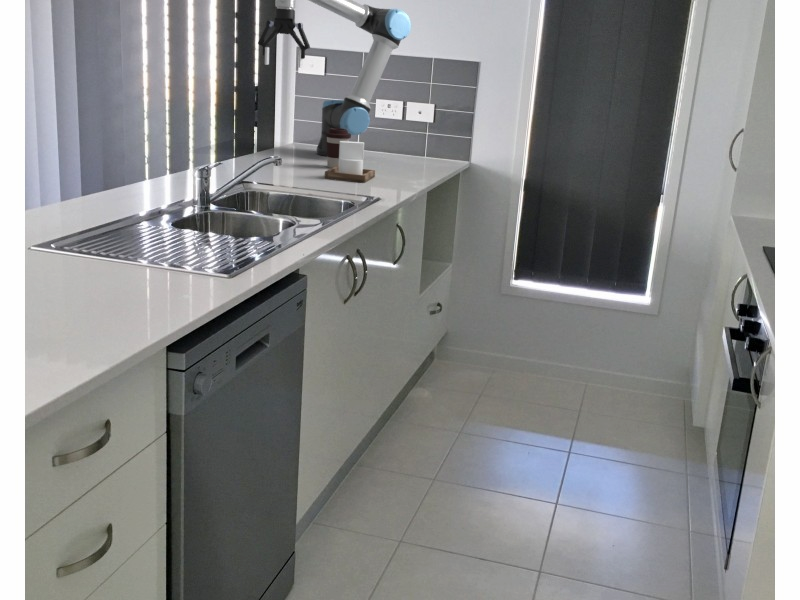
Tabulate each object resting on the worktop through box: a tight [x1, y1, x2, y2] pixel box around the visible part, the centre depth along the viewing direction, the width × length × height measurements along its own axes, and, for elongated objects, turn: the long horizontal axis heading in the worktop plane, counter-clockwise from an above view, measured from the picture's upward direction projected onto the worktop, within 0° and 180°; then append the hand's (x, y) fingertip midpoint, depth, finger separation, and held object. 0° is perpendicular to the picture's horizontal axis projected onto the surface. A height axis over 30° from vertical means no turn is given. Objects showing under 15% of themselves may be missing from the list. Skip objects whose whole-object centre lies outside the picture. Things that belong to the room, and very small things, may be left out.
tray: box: [324, 166, 376, 184], centre depth 314 cm, size 15×15×2 cm
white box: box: [338, 141, 365, 175], centre depth 312 cm, size 9×9×12 cm
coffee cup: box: [325, 128, 352, 169], centre depth 333 cm, size 10×10×15 cm
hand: (283, 66), depth 331 cm, fingers open, 13 cm apart
